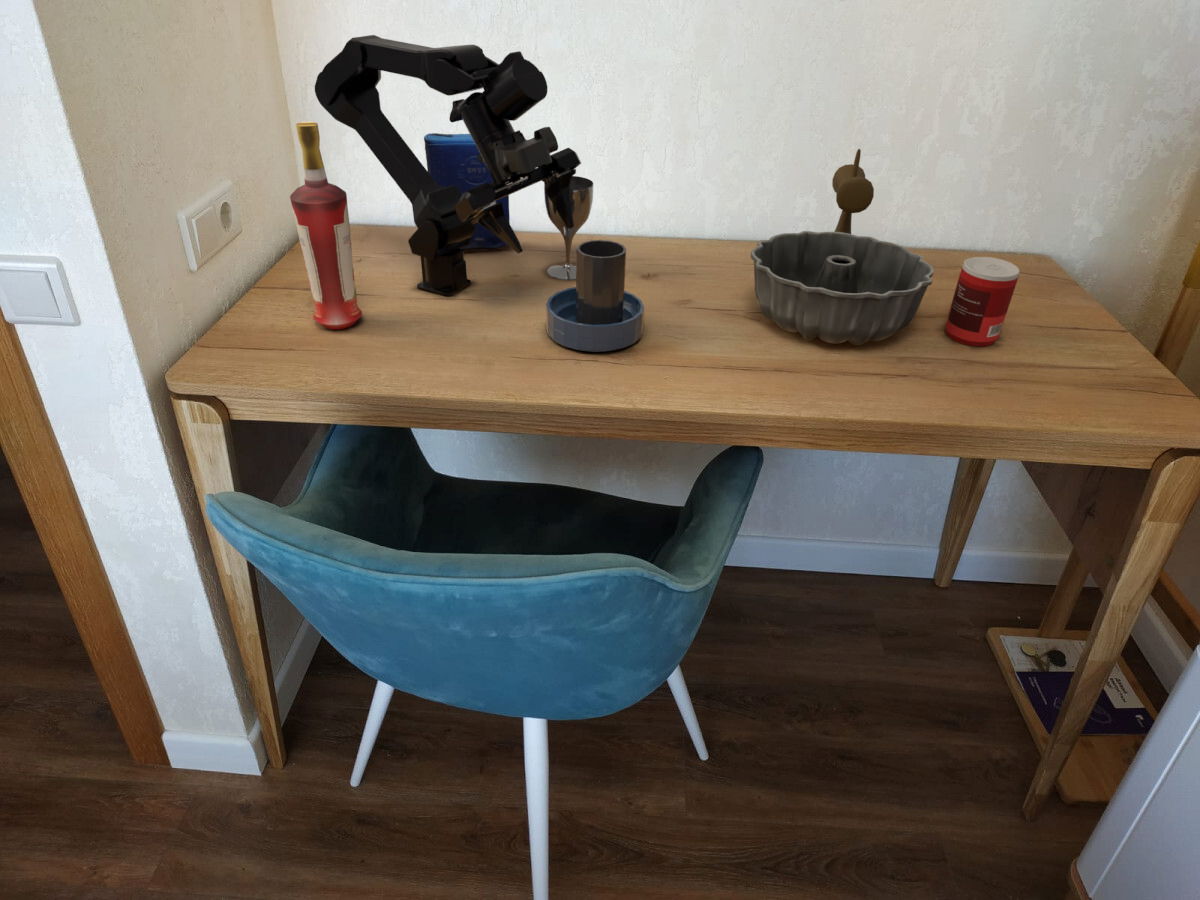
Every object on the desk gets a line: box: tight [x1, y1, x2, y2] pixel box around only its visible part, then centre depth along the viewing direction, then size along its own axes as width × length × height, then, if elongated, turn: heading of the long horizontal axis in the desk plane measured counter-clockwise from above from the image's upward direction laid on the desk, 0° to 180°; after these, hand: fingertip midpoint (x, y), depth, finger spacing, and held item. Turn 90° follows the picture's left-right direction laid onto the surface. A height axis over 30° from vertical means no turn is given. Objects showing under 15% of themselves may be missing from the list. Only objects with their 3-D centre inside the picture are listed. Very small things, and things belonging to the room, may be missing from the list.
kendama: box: [831, 148, 875, 234], centre depth 142 cm, size 6×10×20 cm, turn 173°
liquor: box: [289, 121, 363, 331], centre depth 115 cm, size 7×7×28 cm
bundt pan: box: [750, 230, 935, 346], centre depth 125 cm, size 26×26×10 cm
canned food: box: [945, 256, 1021, 347], centre depth 122 cm, size 8×8×11 cm
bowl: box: [545, 286, 645, 353], centre depth 121 cm, size 14×14×4 cm
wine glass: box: [543, 175, 594, 281], centre depth 137 cm, size 8×8×15 cm
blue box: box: [423, 132, 511, 253], centre depth 143 cm, size 14×5×20 cm, turn 102°
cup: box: [575, 239, 627, 325], centre depth 118 cm, size 7×7×12 cm
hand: (546, 240), depth 118 cm, fingers open, 9 cm apart
